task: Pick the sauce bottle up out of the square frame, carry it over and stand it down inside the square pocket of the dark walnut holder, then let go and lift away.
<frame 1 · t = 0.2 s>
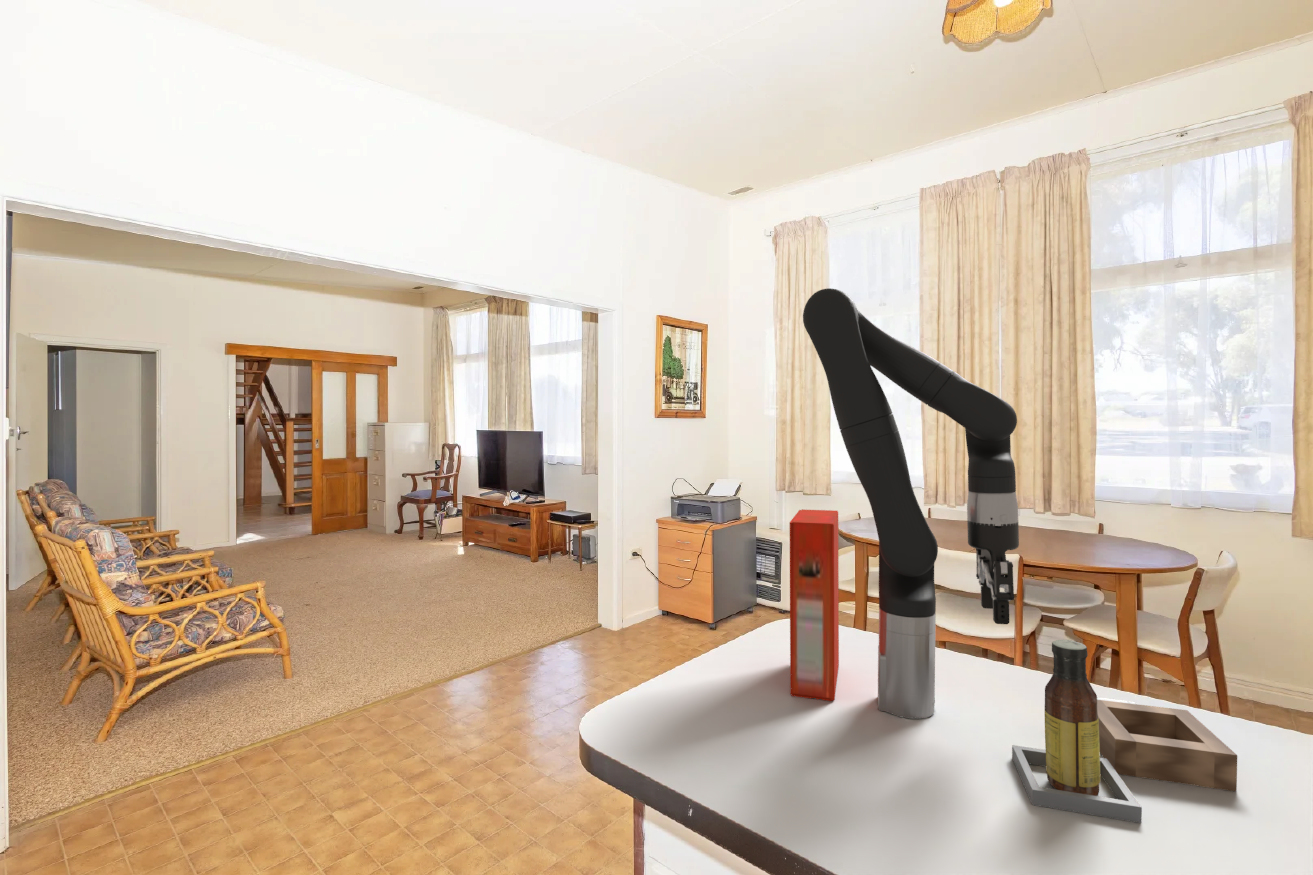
hand: (994, 615, 105), 18 cm above the table, tool pointing down, fingers open, 8 cm apart
hard drive: (1100, 715, 109), on the table
holder: (1152, 756, 94), on the table
file binder: (815, 681, 122), on the table
sauce bottle: (1071, 789, 86), resting in square frame
square frame: (1071, 787, 86), on the table
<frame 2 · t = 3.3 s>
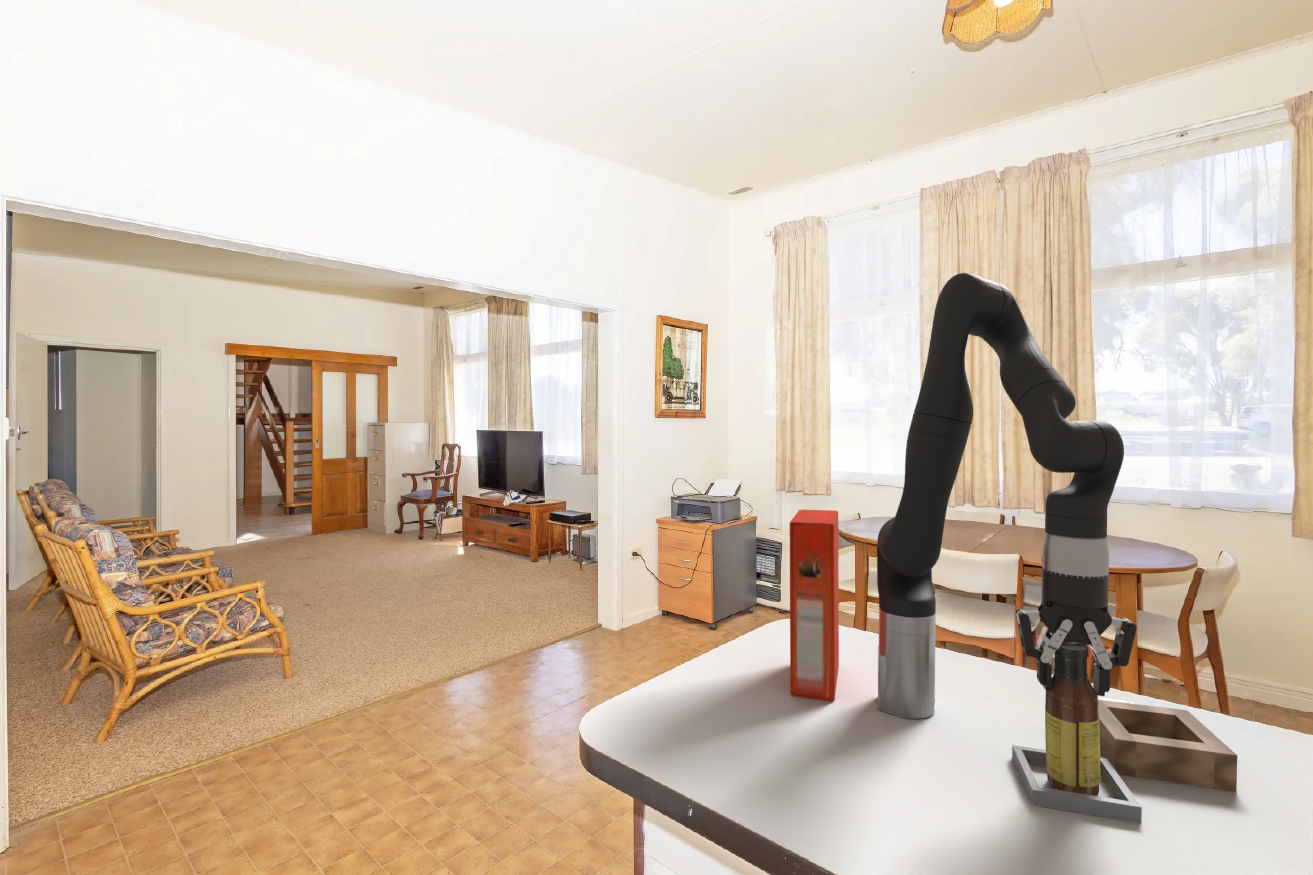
hand: (1072, 689, 86), 14 cm above the table, tool pointing down, fingers closed on sauce bottle, 5 cm apart
sauce bottle: (1070, 789, 86), resting in square frame, touching gripper
everything else where it was.
when the fingers open (15 cm above the table, at t = 9.0 s): sauce bottle drops 1 cm, resting in holder.
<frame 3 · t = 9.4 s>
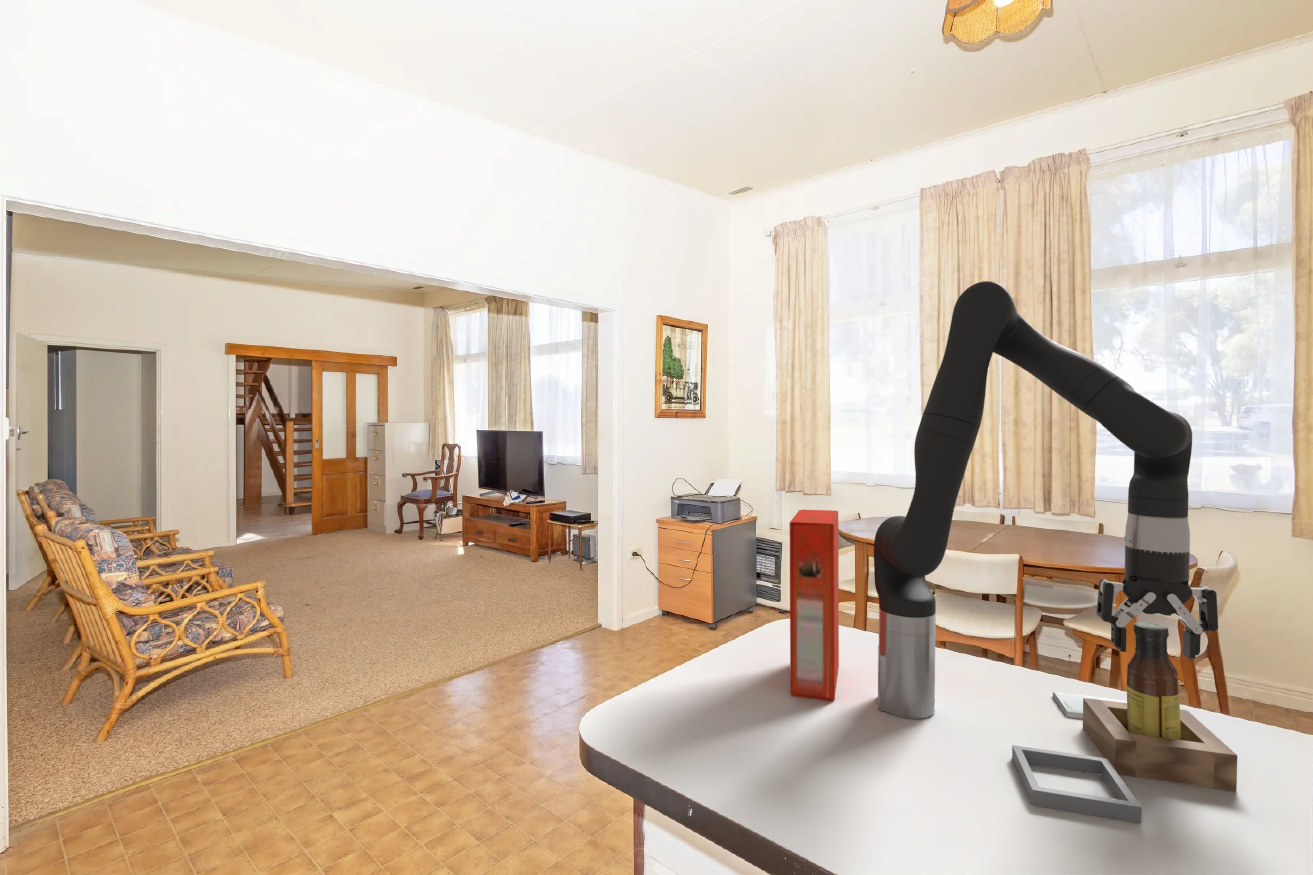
hand: (1154, 653, 94), 16 cm above the table, tool pointing down, fingers open, 8 cm apart
sauce bottle: (1152, 758, 94), resting in holder
everything else where it was.
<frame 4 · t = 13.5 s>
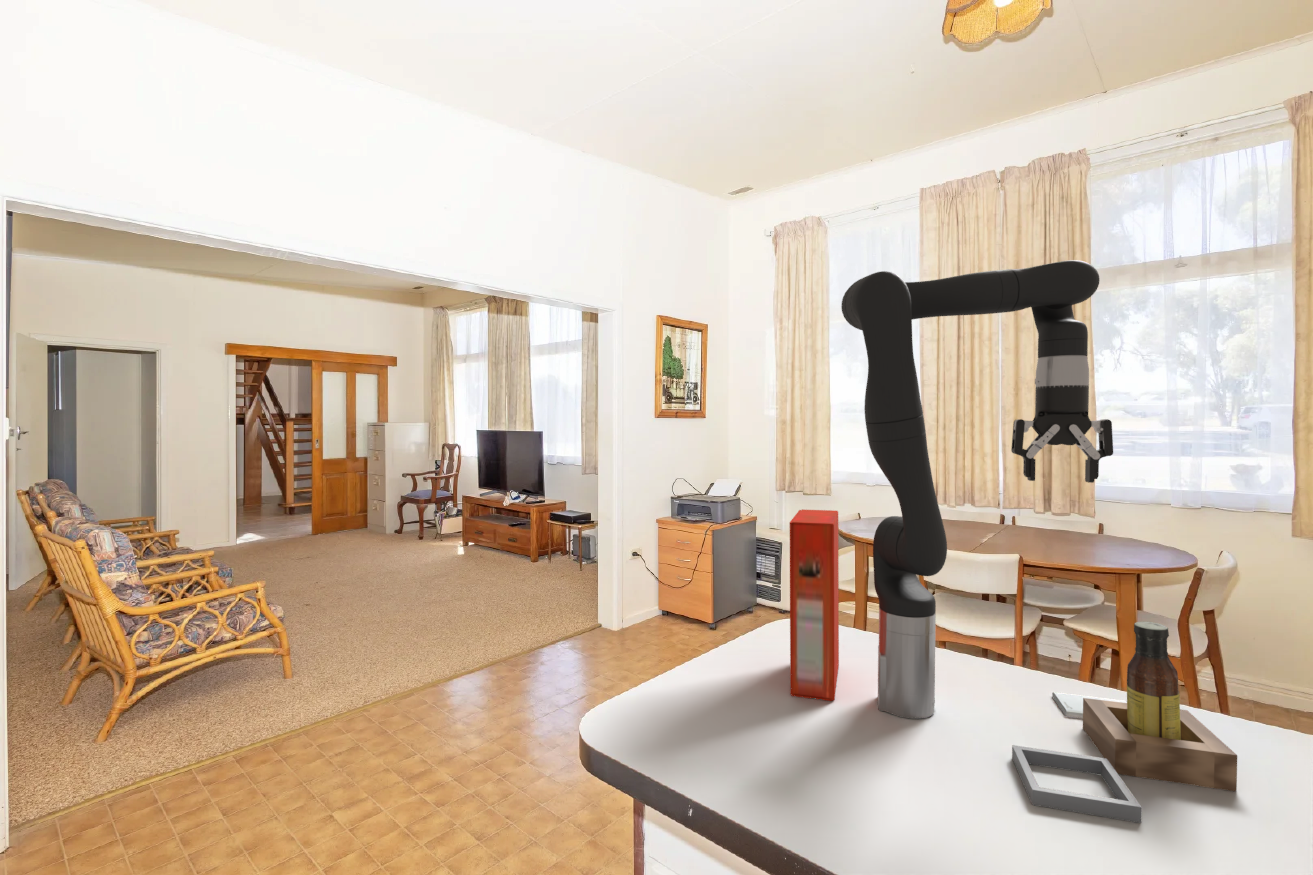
hand: (1060, 481, 106), 40 cm above the table, tool pointing down, fingers open, 8 cm apart
nothing on the table moved.
at the end: sauce bottle 0.0 cm off-centre on the holder, point 0.0 cm above the holder's base; sauce bottle tilted 0°; the gripper is holding nothing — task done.
